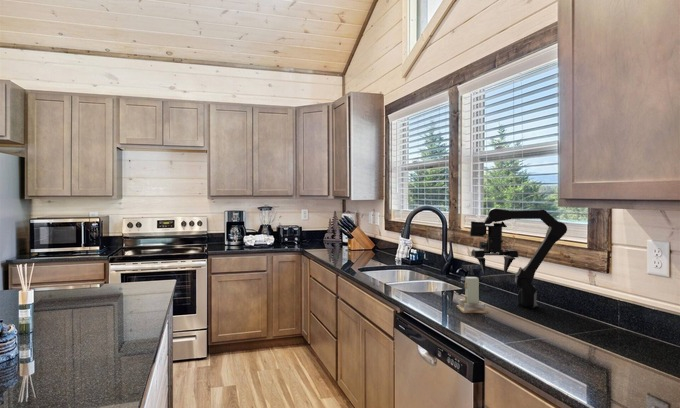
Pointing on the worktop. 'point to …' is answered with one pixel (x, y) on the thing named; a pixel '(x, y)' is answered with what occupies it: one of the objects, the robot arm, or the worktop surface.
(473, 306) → the hinge clip plate
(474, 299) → the grey-green rectangular block
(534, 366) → the worktop surface
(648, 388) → the worktop surface
